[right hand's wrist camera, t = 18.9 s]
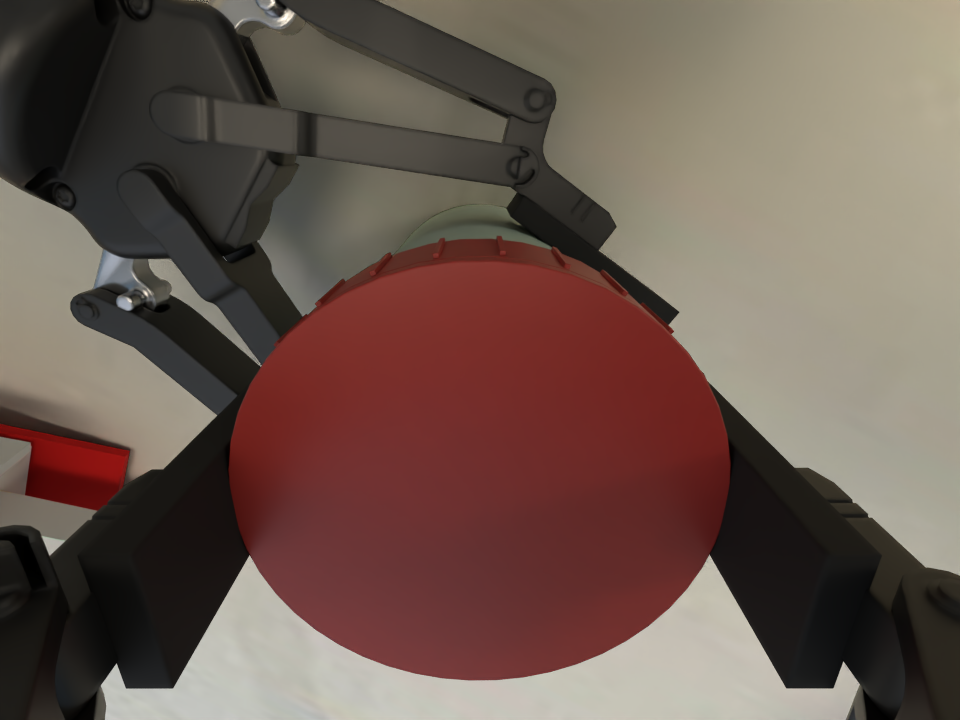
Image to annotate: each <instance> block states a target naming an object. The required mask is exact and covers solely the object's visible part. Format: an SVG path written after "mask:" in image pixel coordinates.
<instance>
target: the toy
mask: <svg viewBox="0 0 960 720" xmlns="http://www.w3.org/2000/svg"><path fill="white" fill-rule="evenodd" d="M129 453H130V451H128V450H123V449H118V448H114V447H109V446H104V445H99V444H94V443H90V442H85V441H80V440H75V439H70V438H66V437H61V436H56V435H51V434H46V433H42V432H37V431H32V430H27V429H22V428H18V427H13V426H8V425H3V424H0V527H4V526H10V525H27V526H32V527H34V528H35V529H37V530H39V531H40V533H41V536H42V538H43V541H44V543H45V546H46V548H47V551H48V553H49V556H50V555H51V554H52V553H53V552H54V551H55V550H56V549H57V548H58V547H59V546H60V545H62V544H63V543H64V542H65V541H66V540H67V539H68V538H69V537H70V536H71V535H72V534H73V533H74V532H75V531H77V530H78V529H79V528H80V527H81V526H82V525H83V524H84V523H85V522H86V521H87V520H91V519H92V516H93V515H94V514H95V513H96V512H97V511H98V510H99V509H100V508H101V507H102V506H103V505H107V503H108V501H109V500H110V499H111V498H112V497H113V496H114V495H115V494H116V493H117V492H118V491H119V490H121V489H122V488H123V484H124V479H125V474H126V469H127V463H128V458H129Z"/></svg>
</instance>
